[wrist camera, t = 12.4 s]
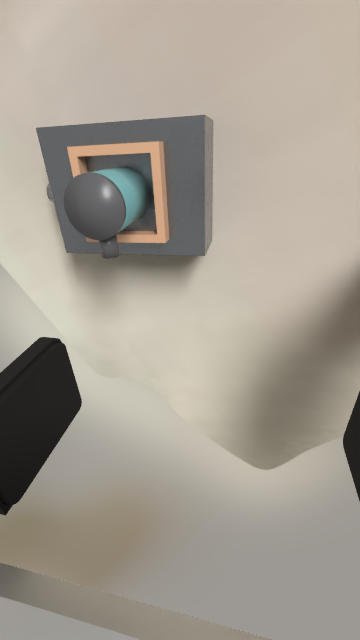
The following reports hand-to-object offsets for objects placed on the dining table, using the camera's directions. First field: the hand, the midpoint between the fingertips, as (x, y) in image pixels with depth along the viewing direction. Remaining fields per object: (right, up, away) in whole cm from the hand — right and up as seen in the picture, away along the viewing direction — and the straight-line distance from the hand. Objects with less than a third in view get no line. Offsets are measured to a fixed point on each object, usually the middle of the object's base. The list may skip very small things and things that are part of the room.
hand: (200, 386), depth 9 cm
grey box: (-5, +18, +24) cm, 31 cm away
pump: (-6, +14, +19) cm, 25 cm away
